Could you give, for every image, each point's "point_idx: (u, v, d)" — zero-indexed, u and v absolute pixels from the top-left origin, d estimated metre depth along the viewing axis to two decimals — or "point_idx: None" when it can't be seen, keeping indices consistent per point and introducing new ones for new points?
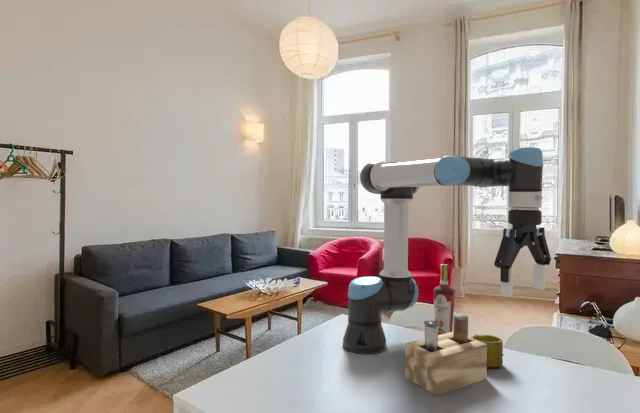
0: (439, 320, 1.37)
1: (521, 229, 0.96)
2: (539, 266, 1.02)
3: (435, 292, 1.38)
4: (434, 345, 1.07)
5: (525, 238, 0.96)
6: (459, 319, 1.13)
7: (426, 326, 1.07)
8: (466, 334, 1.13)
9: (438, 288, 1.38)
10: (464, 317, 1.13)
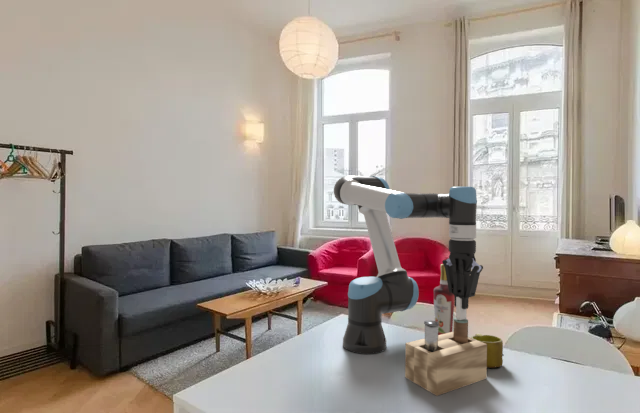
0: (439, 320, 1.37)
1: (450, 255, 1.16)
2: None
3: (435, 292, 1.38)
4: (434, 345, 1.07)
5: (453, 264, 1.14)
6: (459, 322, 1.13)
7: (426, 326, 1.07)
8: (466, 337, 1.13)
9: (438, 288, 1.38)
10: (464, 320, 1.13)
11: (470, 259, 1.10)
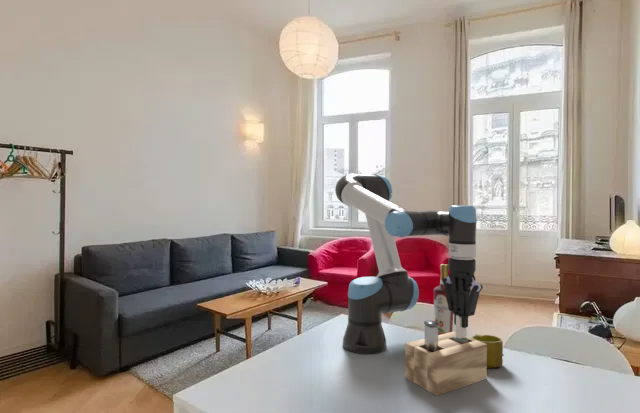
0: (439, 320, 1.37)
1: (449, 273, 1.16)
2: None
3: (435, 292, 1.38)
4: (434, 345, 1.07)
5: (453, 283, 1.14)
6: (459, 341, 1.13)
7: (426, 326, 1.07)
8: None
9: (438, 288, 1.38)
10: (464, 339, 1.13)
11: (470, 278, 1.10)
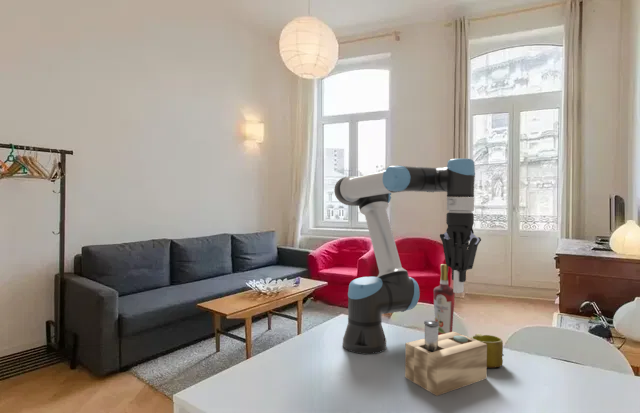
0: (439, 320, 1.37)
1: (447, 228, 1.16)
2: None
3: (435, 292, 1.38)
4: (434, 345, 1.07)
5: (451, 238, 1.14)
6: (459, 341, 1.13)
7: (426, 326, 1.07)
8: None
9: (438, 288, 1.38)
10: (464, 339, 1.13)
11: (468, 231, 1.09)
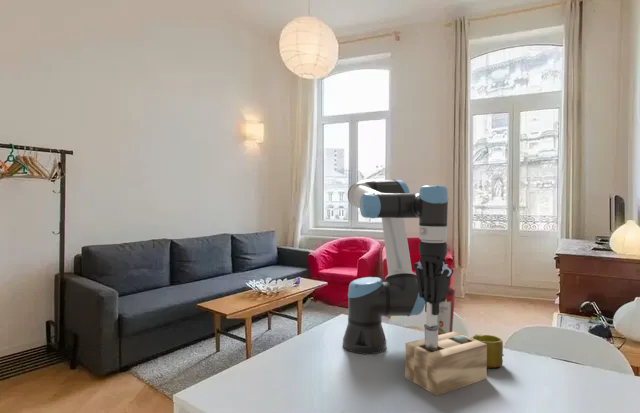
0: (439, 320, 1.37)
1: (420, 258, 1.10)
2: None
3: None
4: (434, 349, 1.07)
5: (424, 268, 1.08)
6: (459, 341, 1.13)
7: (426, 330, 1.07)
8: None
9: None
10: (464, 339, 1.13)
11: (440, 262, 1.04)
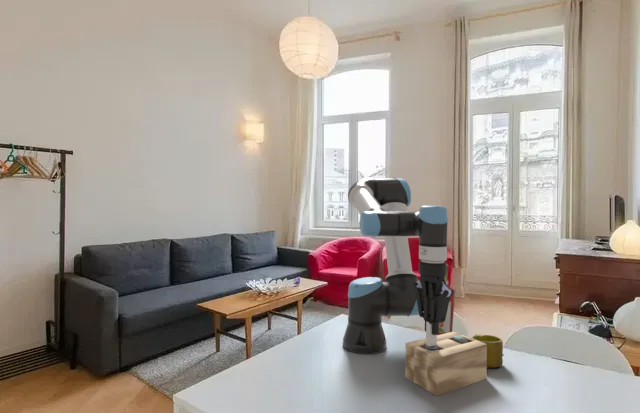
0: None
1: (420, 277, 1.10)
2: None
3: None
4: None
5: (423, 287, 1.08)
6: (459, 341, 1.13)
7: (426, 349, 1.08)
8: None
9: None
10: (464, 339, 1.13)
11: (440, 283, 1.04)
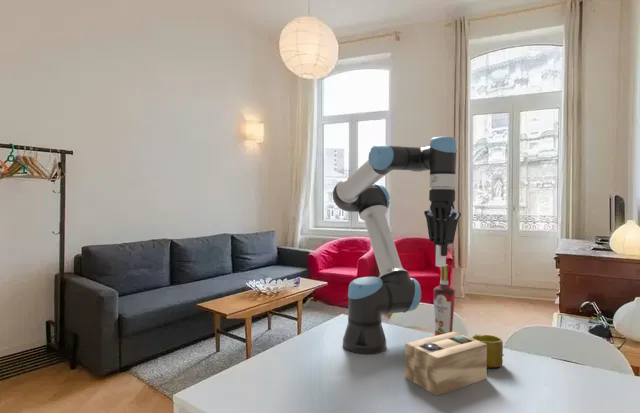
0: (439, 320, 1.37)
1: (431, 205, 1.20)
2: None
3: (435, 292, 1.38)
4: None
5: (433, 213, 1.18)
6: (459, 341, 1.13)
7: (426, 349, 1.08)
8: None
9: (438, 288, 1.38)
10: (464, 339, 1.13)
11: (448, 207, 1.14)
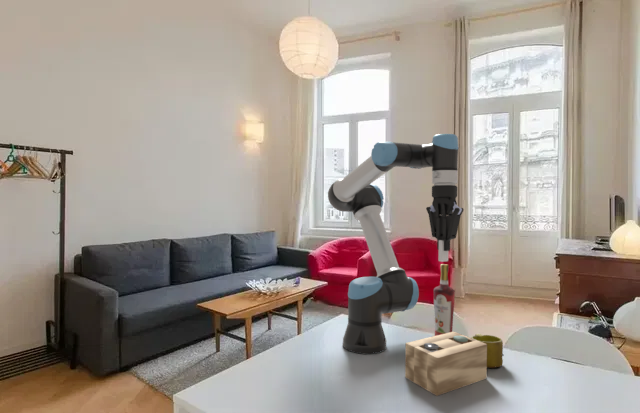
0: (439, 320, 1.37)
1: (433, 201, 1.22)
2: None
3: (435, 292, 1.38)
4: None
5: (436, 209, 1.20)
6: (459, 341, 1.13)
7: (426, 349, 1.08)
8: None
9: (438, 288, 1.38)
10: (464, 339, 1.13)
11: (451, 202, 1.16)
